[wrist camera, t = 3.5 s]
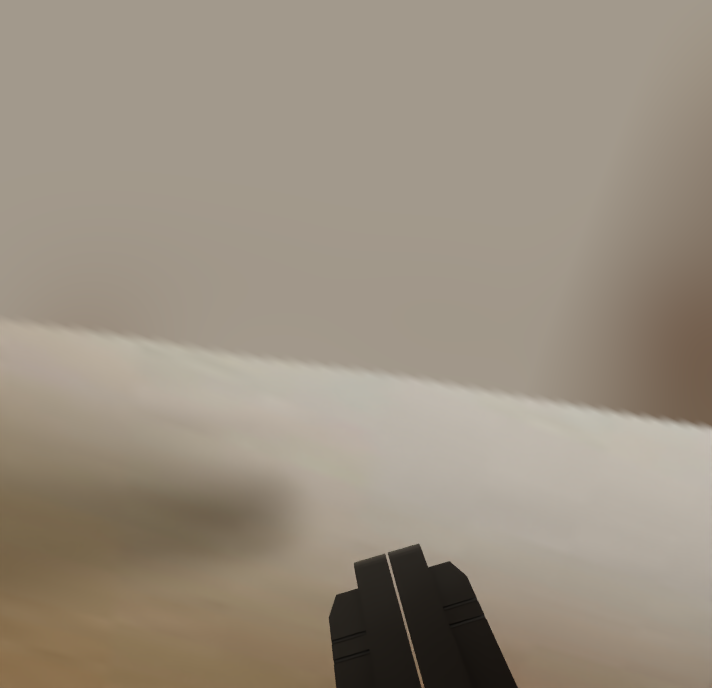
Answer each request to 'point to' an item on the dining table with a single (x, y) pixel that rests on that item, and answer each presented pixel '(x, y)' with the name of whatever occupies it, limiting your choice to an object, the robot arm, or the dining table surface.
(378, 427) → the dining table surface
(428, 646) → the robot arm
